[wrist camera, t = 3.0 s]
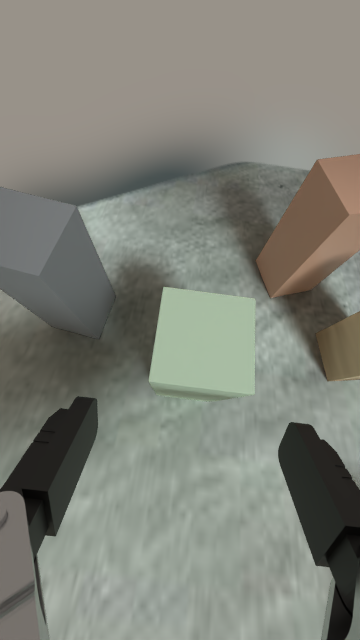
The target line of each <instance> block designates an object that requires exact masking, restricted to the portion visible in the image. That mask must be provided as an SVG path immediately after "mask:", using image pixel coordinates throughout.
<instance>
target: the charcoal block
mask: <svg viewBox="0 0 360 640" xmlns="http://www.w3.org/2000/svg"><path fill="white" fill-rule="evenodd" d="M0 289H1V290H2V291H4V292H5V293H7V294H8V295H9V296H11V297H12V298H13V299H15V300H16V301H18V302H19V303H20V304H22V305H23V306H24V307H26V308H27V309H29V310H30V311H31V312H33V313H34V314H35V315H37V316H38V317H40V318H41V319H42V320H44V321H45V322H46V323H48V324H49V325H51V326H52V327H55V328H59V329H63V330H66V331H70V332H74V333H77V334H81V335H85V336H89V337H92V338H96V339H99V338H100V335H101V333H102V330H103V328H104V325H105V323H106V320H107V318H108V315H109V313H110V310H111V308H112V305H113V302H114V300H115V297H116V295H115V293H114V291H113V288H112V286H111V284H110V282H109V279H108V277H107V275H106V272H105V270H104V268H103V266H102V263H101V261H100V259H99V256H98V254H97V252H96V250H95V247H94V245H93V243H92V240H91V238H90V236H89V234H88V231H87V229H86V227H85V224H84V222H83V220H82V218H81V215H80V213H79V211H78V208H77V206H74V205H70V204H66V203H63V202H59V201H54V200H51V199H46V198H42V197H39V196H35V195H31V194H27V193H23V192H19V191H15V190H11V189H7V188H3V187H0Z"/></svg>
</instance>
